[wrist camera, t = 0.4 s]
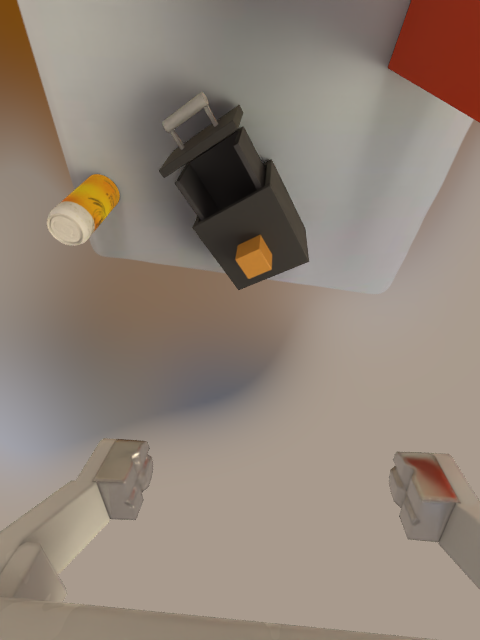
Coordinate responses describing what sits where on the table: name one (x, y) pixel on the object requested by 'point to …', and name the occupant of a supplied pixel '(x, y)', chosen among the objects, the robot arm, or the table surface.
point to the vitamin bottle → (83, 210)
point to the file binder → (442, 51)
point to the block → (254, 257)
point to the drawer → (213, 160)
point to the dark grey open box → (257, 230)
